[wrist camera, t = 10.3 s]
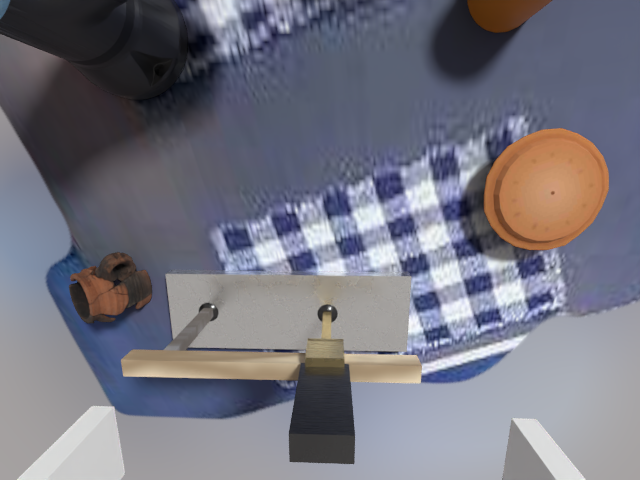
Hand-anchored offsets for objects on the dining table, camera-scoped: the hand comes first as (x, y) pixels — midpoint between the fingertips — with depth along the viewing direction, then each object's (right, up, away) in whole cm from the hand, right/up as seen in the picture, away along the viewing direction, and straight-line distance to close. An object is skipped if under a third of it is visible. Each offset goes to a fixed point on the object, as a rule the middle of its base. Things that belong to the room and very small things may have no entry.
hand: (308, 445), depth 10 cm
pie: (+29, +14, +34) cm, 47 cm away
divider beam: (-5, -4, +37) cm, 37 cm away
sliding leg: (+1, -4, +36) cm, 36 cm away
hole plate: (-4, -4, +38) cm, 39 cm away
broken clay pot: (-30, +1, +39) cm, 49 cm away
